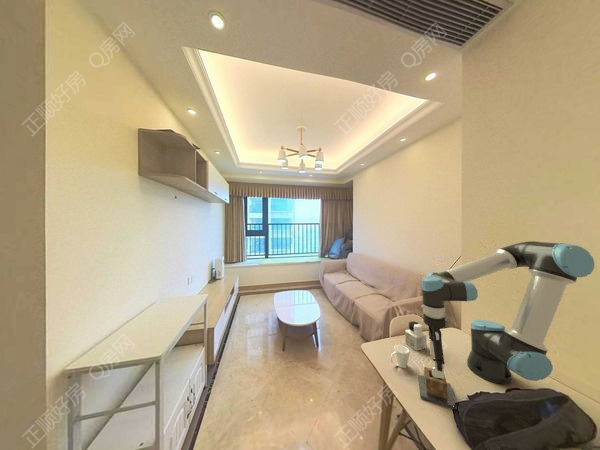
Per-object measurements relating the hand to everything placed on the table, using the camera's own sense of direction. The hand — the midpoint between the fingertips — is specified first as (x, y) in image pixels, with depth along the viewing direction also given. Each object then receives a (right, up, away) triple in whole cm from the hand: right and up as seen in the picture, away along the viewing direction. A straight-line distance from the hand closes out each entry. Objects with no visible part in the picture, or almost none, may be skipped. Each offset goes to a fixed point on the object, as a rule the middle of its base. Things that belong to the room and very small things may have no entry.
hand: (436, 365), depth 80 cm
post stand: (0, -11, 0) cm, 11 cm away
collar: (0, -10, 0) cm, 10 cm away
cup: (-7, -12, +16) cm, 21 cm away
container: (+10, -11, +31) cm, 34 cm away
